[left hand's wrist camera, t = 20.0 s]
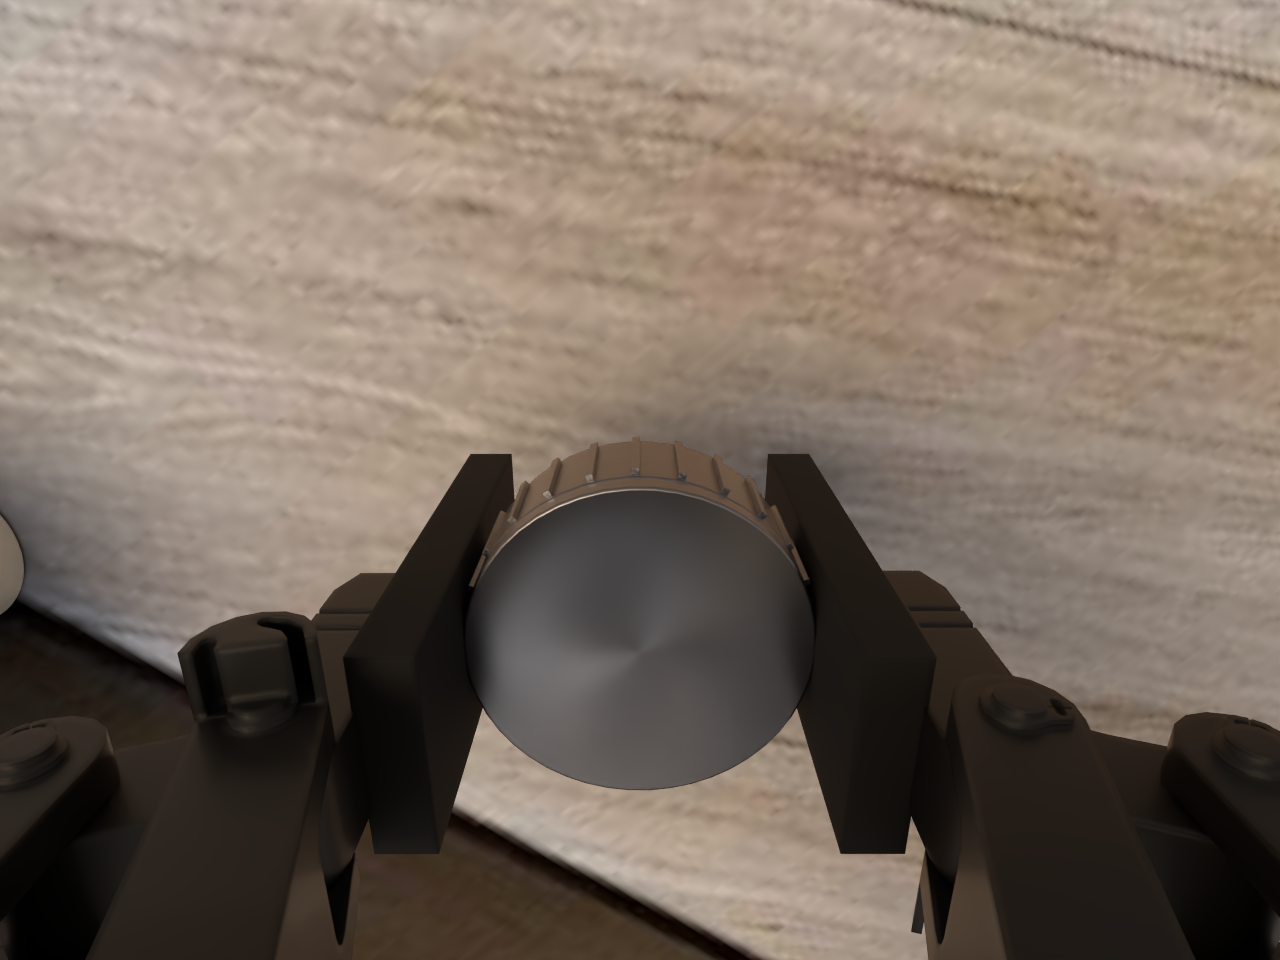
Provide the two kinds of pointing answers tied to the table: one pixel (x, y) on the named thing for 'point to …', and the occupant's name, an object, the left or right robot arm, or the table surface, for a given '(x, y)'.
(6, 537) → the beige cylindrical rod
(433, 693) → the left robot arm
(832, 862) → the table surface
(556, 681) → the lid
